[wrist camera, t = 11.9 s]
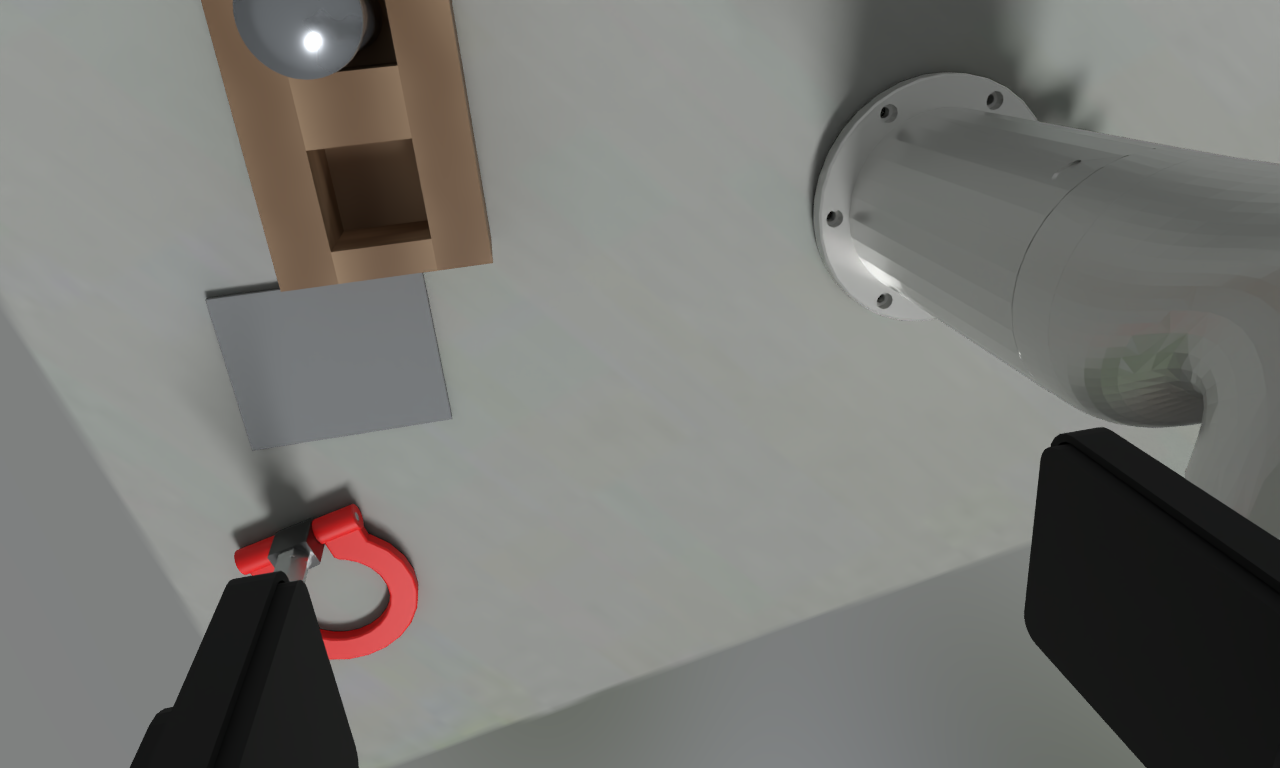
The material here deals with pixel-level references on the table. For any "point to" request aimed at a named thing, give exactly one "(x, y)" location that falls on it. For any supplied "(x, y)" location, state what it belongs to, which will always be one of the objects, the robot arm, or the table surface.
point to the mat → (331, 359)
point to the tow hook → (345, 541)
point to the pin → (307, 33)
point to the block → (361, 152)
